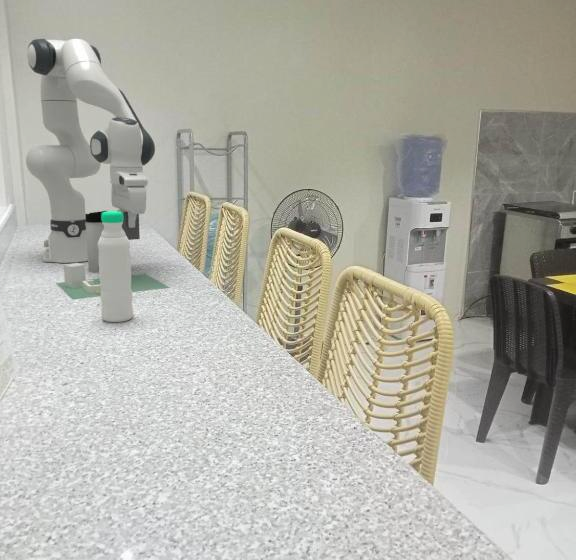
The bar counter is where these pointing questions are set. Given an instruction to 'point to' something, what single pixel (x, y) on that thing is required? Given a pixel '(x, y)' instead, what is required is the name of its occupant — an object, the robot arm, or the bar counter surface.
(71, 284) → the plug
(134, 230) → the plug
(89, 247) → the travel mug
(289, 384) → the bar counter surface
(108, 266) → the water bottle
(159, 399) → the bar counter surface
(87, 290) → the board
